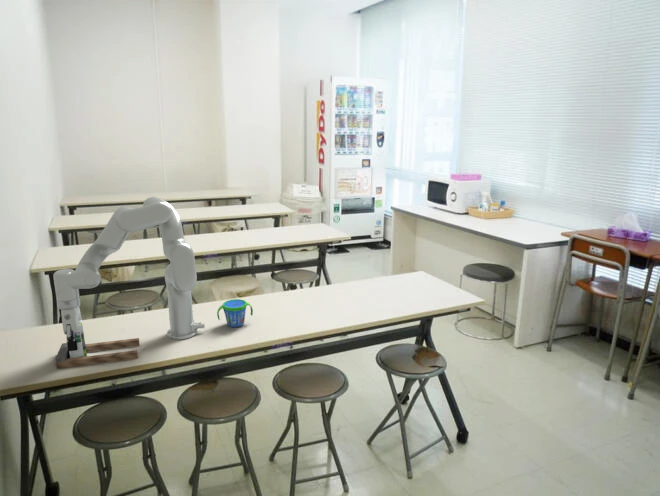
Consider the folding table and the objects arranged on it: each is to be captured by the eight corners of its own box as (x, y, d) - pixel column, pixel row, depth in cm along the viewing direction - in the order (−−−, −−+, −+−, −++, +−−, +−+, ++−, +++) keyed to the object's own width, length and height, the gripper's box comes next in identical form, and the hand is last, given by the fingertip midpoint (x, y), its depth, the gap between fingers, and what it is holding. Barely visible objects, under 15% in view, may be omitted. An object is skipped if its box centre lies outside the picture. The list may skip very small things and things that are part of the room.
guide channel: (139, 343, 200) (138, 334, 199) (137, 358, 188) (136, 348, 187) (63, 352, 192) (62, 343, 191) (56, 368, 180) (54, 358, 179)
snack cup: (218, 331, 213) (217, 309, 210) (217, 321, 223) (216, 300, 220) (254, 327, 216) (253, 306, 214) (252, 318, 226) (251, 297, 224)
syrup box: (70, 363, 184) (65, 327, 181) (69, 356, 189) (64, 321, 185) (87, 359, 187) (82, 324, 183) (86, 353, 192) (81, 318, 188)
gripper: (75, 309, 175) (81, 355, 180) (83, 293, 191) (89, 335, 196) (52, 312, 173) (59, 358, 177) (62, 295, 189) (68, 337, 193)
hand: (74, 345), depth 187 cm, fingers open, 6 cm apart
